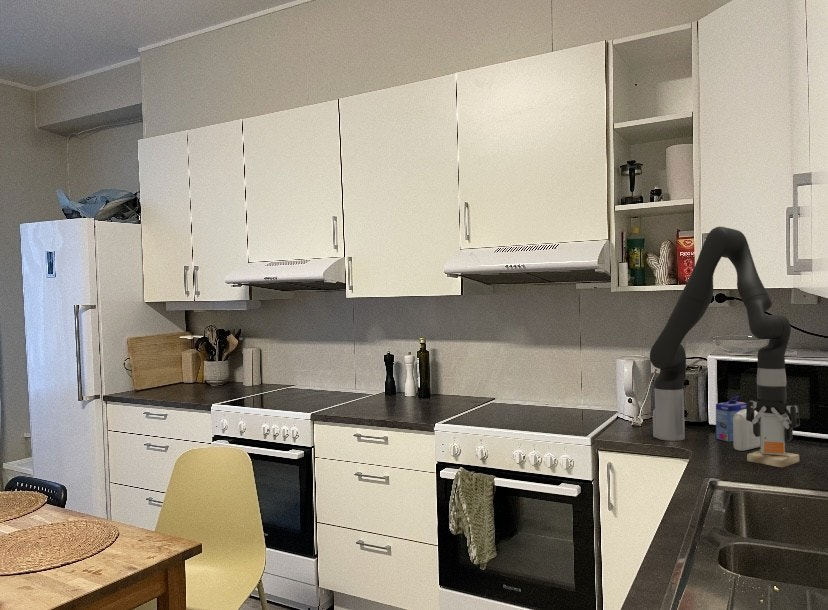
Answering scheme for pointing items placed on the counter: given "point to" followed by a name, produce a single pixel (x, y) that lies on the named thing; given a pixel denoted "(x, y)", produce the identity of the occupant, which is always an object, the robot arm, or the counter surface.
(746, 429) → the white rounded block
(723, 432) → the ink cartridge box
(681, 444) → the counter surface
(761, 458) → the trivet
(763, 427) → the skincare box
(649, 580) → the counter surface
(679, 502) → the counter surface
